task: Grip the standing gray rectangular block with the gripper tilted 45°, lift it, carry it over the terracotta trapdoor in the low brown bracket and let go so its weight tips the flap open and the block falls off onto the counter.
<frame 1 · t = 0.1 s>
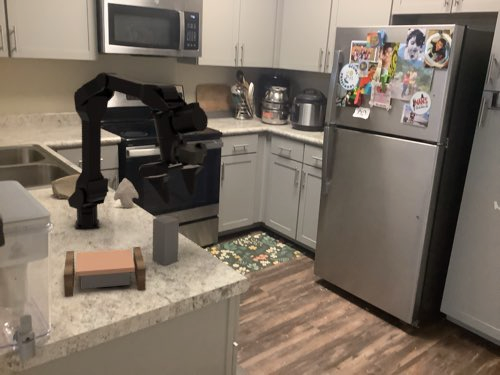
hand: (180, 199, 114), 15 cm above the worktop, tool pointing down, fingers open, 9 cm apart
brown bracket: (105, 282, 103), on the worktop
trapdoor: (105, 267, 103), point 3 cm above the worktop, hinge at 0.0°
arrowhead: (126, 208, 153), on the worktop
gray rectangular block: (165, 260, 116), on the worktop
decorative stone: (72, 196, 161), on the worktop
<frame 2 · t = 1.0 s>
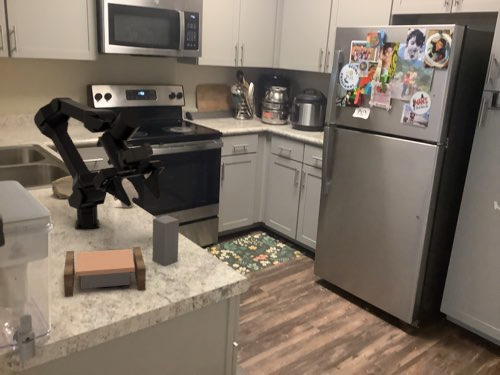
hand: (144, 202, 117), 13 cm above the worktop, tool tilted 45°, fingers open, 9 cm apart
nothing on the worktop moved.
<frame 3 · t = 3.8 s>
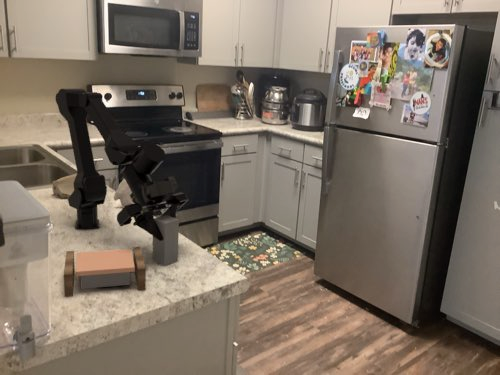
hand: (169, 237, 113), 7 cm above the worktop, tool tilted 45°, fingers closed on gray rectangular block, 4 cm apart
gray rectangular block: (165, 260, 116), on the worktop, touching gripper
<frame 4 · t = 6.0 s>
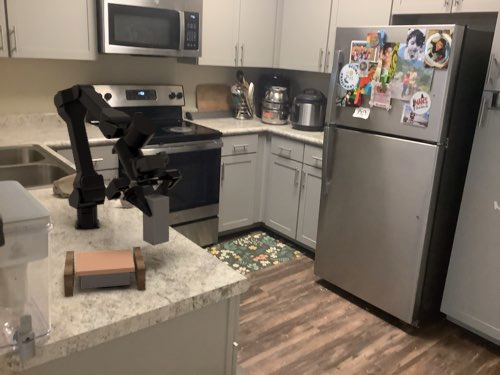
hand: (159, 214, 109), 13 cm above the worktop, tool tilted 45°, fingers closed on gray rectangular block, 4 cm apart
gray rectangular block: (156, 240, 112), point 6 cm above the worktop, touching gripper
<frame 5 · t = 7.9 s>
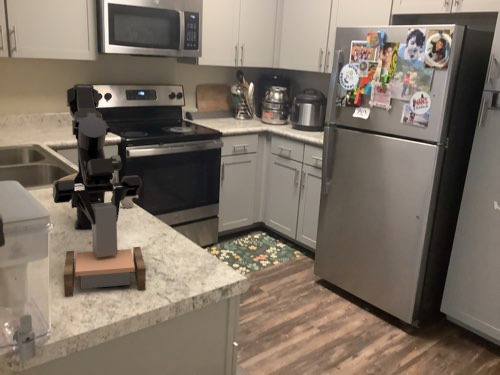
hand: (105, 222, 101), 13 cm above the worktop, tool tilted 45°, fingers closed on gray rectangular block, 4 cm apart
gray rectangular block: (104, 252, 104), point 6 cm above the worktop, touching gripper
when the fingers open (13 cm above the worktop, at t = 8.5 s): gray rectangular block drops 2 cm and tips over, resting on trapdoor.
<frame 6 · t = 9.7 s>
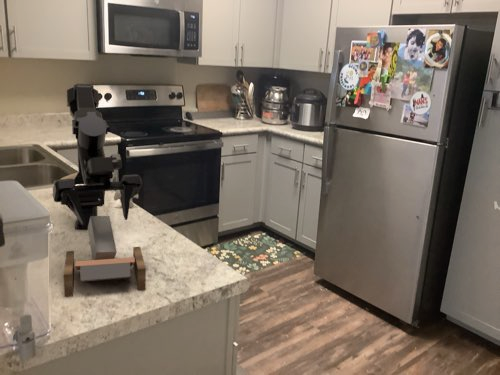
hand: (105, 221, 101), 14 cm above the worktop, tool tilted 45°, fingers open, 9 cm apart
trapdoor: (105, 271, 102), point 3 cm above the worktop, hinge at -30.7°, touching gray rectangular block
gray rectangular block: (104, 258, 105), point 4 cm above the worktop, tilted 62°, touching trapdoor
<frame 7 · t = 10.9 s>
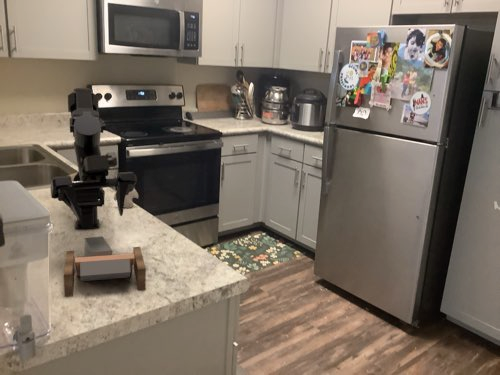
hand: (101, 217, 105), 13 cm above the worktop, tool tilted 45°, fingers open, 9 cm apart
trapdoor: (105, 271, 102), point 3 cm above the worktop, hinge at -42.5°, touching gray rectangular block
gray rectangular block: (102, 260, 107), point 3 cm above the worktop, tilted 94°, touching trapdoor
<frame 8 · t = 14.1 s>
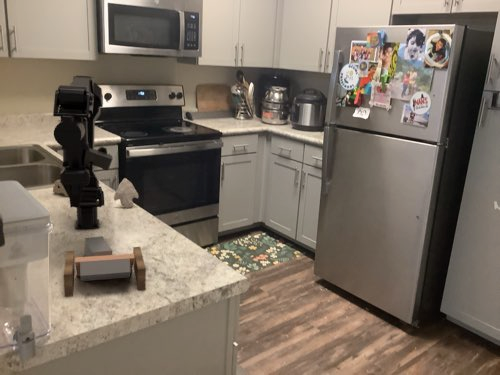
hand: (77, 201, 115), 13 cm above the worktop, tool pointing down, fingers open, 9 cm apart
trapdoor: (105, 271, 102), point 3 cm above the worktop, hinge at -42.9°, touching gray rectangular block
at the end: gray rectangular block point 2.9 cm above the worktop; gray rectangular block inside the target area (1.7 cm from its centre), point 2.9 cm above the worktop; the gripper is holding nothing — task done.
